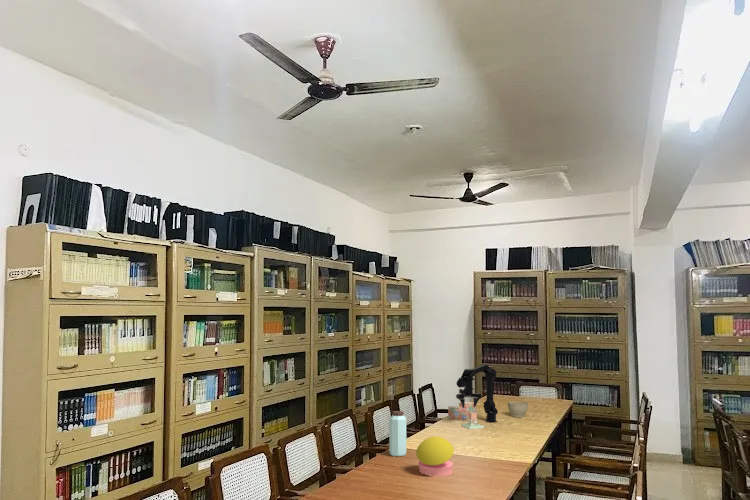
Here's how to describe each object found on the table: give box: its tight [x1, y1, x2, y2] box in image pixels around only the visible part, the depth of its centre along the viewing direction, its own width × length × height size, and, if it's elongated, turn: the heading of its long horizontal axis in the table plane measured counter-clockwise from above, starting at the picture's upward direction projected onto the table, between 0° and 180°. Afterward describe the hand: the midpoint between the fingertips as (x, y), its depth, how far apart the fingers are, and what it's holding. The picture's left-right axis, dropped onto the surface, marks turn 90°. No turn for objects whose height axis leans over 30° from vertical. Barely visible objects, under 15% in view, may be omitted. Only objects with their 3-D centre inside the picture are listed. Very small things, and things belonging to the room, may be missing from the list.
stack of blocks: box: [447, 401, 477, 421], centre depth 456 cm, size 21×6×12 cm, turn 102°
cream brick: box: [467, 418, 478, 425], centre depth 423 cm, size 4×4×4 cm
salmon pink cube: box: [467, 412, 478, 420], centre depth 423 cm, size 4×4×4 cm
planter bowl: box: [507, 400, 529, 418], centre depth 466 cm, size 16×16×11 cm
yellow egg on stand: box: [415, 436, 455, 477], centre depth 306 cm, size 20×18×20 cm
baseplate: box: [461, 422, 485, 430], centre depth 423 cm, size 12×12×2 cm
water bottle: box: [388, 410, 407, 457], centre depth 342 cm, size 10×10×25 cm
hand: (469, 407), depth 429 cm, fingers open, 9 cm apart
